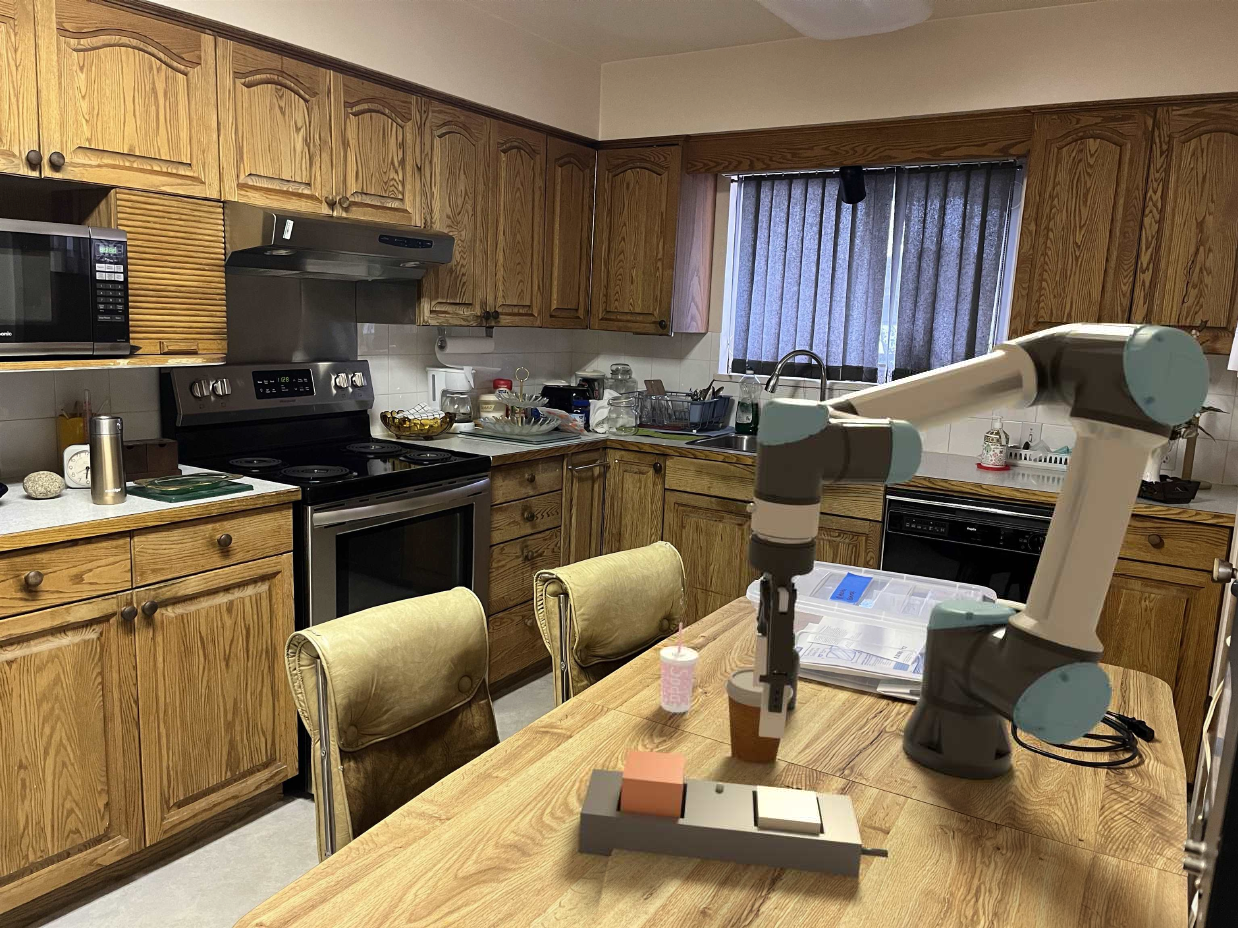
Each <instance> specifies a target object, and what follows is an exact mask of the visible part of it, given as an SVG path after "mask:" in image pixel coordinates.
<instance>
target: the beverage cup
mask: <svg viewBox="0 0 1238 928" xmlns="http://www.w3.org/2000/svg"><path fill="white" fill-rule="evenodd" d="M678 627H679V628H678V639H677V646H676V645H673V646H671V645H670V646H666V647H665V646H664V647H663V648H661V649H660V651H659V658H660V660H661V661H660V664H661V665H660V666H661V667H660V671H661V673H660V677H661V678H660V679H661V680H660V691H661V692H660V693H661V695H660V702H661V704H660V705H661V708H662V709H663V710H665V711H667V712H671V713H684V712H687V711H688V710H690V709H691V707H690V706H691V699H692V693H693V687H694V686H693V685H694V680H695V678H694V677H695V670H696V664H697V662H698V660H699V659H698V658H699V653H698V652H697V651H696V650H695V649H692V648H691V647H690V648H689V647H687V646H682V639H683V638H682V637H683V622H679V626H678Z"/></svg>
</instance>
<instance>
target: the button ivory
mask: <svg viewBox="0 0 1238 928" xmlns="http://www.w3.org/2000/svg"><path fill="white" fill-rule="evenodd" d="M756 786H757V792H756V804H755V816H754V826H755V827H764V828H773V829H782V830H791V831H800V832H809V833H819V834H820V825H821V822H820V817H819V811H818V805H817V800H816V794H815V792H816V791H811V790H802V789H794V788H793V789H792V788H784V787H773V786H765V785H756Z"/></svg>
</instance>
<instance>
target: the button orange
mask: <svg viewBox="0 0 1238 928" xmlns="http://www.w3.org/2000/svg"><path fill="white" fill-rule="evenodd" d="M685 761H686V755H685V754H676V753H667V752H658V751H650V750H649V751H647V750H638V749H628V751H627V755H626V759H625V764H624V768H623V771H622V772H623V777H622V792H621V810H620V812H628V813H637V814H646V815H655V816H665V817H674V818H681V814H682V813H681V805H682V794H683V780H684V778H685V777H684V776H685Z"/></svg>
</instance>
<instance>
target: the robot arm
mask: <svg viewBox="0 0 1238 928" xmlns="http://www.w3.org/2000/svg"><path fill="white" fill-rule="evenodd" d="M1210 377H1211V376H1210V366H1209V362H1208V357H1207V356H1206V355H1204V352H1203V348H1202V346H1201V345H1200V343H1199V342H1198V341H1197V339H1195V337H1193V335H1191V334H1190V333H1188V332H1186V331H1185V330H1182V329H1179V328H1175V327H1169V326H1162V325H1158V324H1157V325H1155V324H1151V323H1145V324H1135V323H1134V324H1133V323H1132V324H1131V323H1103V322H1102V323H1101V322H1100V323H1099V322H1088V321H1087V322H1086V321H1084V322H1083V321H1082V322H1074V323H1069V324H1068V323H1067V324H1063V325H1058V326H1054V327H1051V328H1047V329H1044V330H1040V331H1037V332H1034V333H1030V334H1028V335H1024V336H1021V337H1018V338H1017V337H1016V338H1014V339H1011V340H1010V339H1009V340H1007V341H1003V342H1000V343H998V344H996V345H995V346H993V348H992V349H990V351H989V353H988V354H984V355H981V356H978V357H975V358H974V357H973V358H971V359H968V360H964V361H961V362H957V363H952V364H951V365H947V366H944V367H943V366H942V367H939V368H936V369H933V370H930V371H929V370H928V371H926V372H921V373H919V374H915V375H911V376H908V377H904V378H901V379H897V380H894V381H891V382H887V383H884V384H880V385H876V386H873V387H869V388H867V389H866V388H865V389H863V390H860V391H856V392H851V393H849V394H845V395H842V396H841V395H840V396H838V397H834V398H830V399H827V400H823V401H819V400H810V399H803V398H790V397H789V398H786V397H778V398H770V399H768V400H767V401H765V403H763V405H762V406H761V407H762V408H761V410H760V411H761V412H760V416H759V423H758V429H757V435H756V457H755V470H754V471H755V472H754V484H753V485H754V486H753V499H752V500H753V503H748V504H747V505H746V511H747V512H749V513H751V523H750V529H751V530H752V531H753V532H752V533H751V534H750V535H749V538H748V550H747V564H748V565H749V566H750V567H751V568H752V569H753V570H755V571H757V572H760V573H763V574H762V579H761V578H760V581H759V604H758V612H757V616H756V620H755V621H756V622H757V626H756V631H757V634H756V641H755V642H756V643H755V653H754V663H753V668H754V673H753V687H763V691H762V702H761V713H760V725H759V736H761V737H771V738H781V739H785V729H786V719H787V712H786V710H787V699H788V689H789V686H791V685H792V681H793V678H792V656H793V633H794V628H795V627H794V624H795V618H796V617H795V612H796V611H795V610H796V609H795V607H796V602H797V600H798V589H797V588H795V587H796V582H794V581H792V580H793V578H794V577H797V576H800V577H801V576H806V575H809V574H810V573H811V572H812V571H813V570H814V567H815V557H816V546H817V543H816V541H815V539H814V537H816V536H817V535H818V532H819V524H820V523H819V521H820V513H821V512H820V510H821V502H822V501H821V496H822V490H823V484H824V485H837V484H839V485H840V484H841V485H842V484H843V485H844V484H845V485H854V484H856V485H857V484H858V485H881V486H886V485H891V484H899V483H900V484H901V483H902V484H903V483H906V482H908V481H910V480H911V479H912V478H913V477H915V475H916V474H917V473H918V471H919V469H920V467H921V463H922V453H923V443H922V438H921V435H920V433H922V432H925V431H929V430H932V429H936V428H939V427H943V426H946V425H949V424H952V423H956V422H960V421H962V420H965V419H969V418H973V417H976V416H980V415H983V414H987V413H989V412H992V411H996V410H1000V409H1002V408H1006V409H1008V410H1011V411H1022V410H1026V409H1028V408H1032V407H1038V406H1050V407H1051V406H1053V407H1064V408H1071V409H1070V412H1069V416H1068V421H1069V423H1070V424H1071V426H1072V428H1073V429H1074V432H1075V433H1076V438H1075V441H1074V443H1073V447H1072V451H1071V454H1070V457H1069V460H1068V465H1067V468H1066V470H1065V474H1064V478H1063V480H1062V484H1061V487H1060V491H1059V494H1058V496H1057V501H1056V504H1055V507H1054V511H1053V514H1052V517H1051V520H1050V524H1049V526H1048V530H1047V534H1046V537H1045V541H1044V544H1043V547H1042V551H1041V554H1040V557H1039V561H1038V564H1037V567H1036V571H1035V574H1034V577H1033V579H1032V584H1031V586H1030V590H1029V593H1028V596H1027V600H1026V604H1025V606H1024V609H1022V611H1020V612H1017V611H1016V610H1015V609H1014V608H1012V607H1010V606H1007V605H1004V604H1001V603H995V602H991V601H989V602H988V601H983V600H981V601H980V600H970V599H969V600H966V599H962V600H961V599H956V600H944V601H941V602H939V603H936V604H935V605H934V606H933V607H932V609H931V611H930V615H929V619H928V624H927V626H926V638H925V649H924V650H925V651H924V659H923V666H922V667H923V670H922V679H921V688H920V694H919V695H920V696H919V699H918V701H917V702H916V704H915V706H914V709H913V711H912V712H911V715H910V716H909V718H908V720H907V722H906V724H905V726H904V728H903V735H902V736H903V738H902V747H903V749H904V751H905V752H906V753H907V754H908V756H910V758H912V759H914V761H916V762H918V763H919V764H921V765H923V766H925V767H927V768H929V769H932V770H935V772H939V773H944V774H946V775H950V776H953V777H959V778H964V779H965V778H968V779H978V780H979V779H981V780H983V779H992V778H998V777H1000V776H1002V775H1004V774H1006V773H1008V771H1009V770H1010V769H1011V765H1012V756H1013V748H1012V743H1011V739H1010V733H1009V728H1008V724H1007V721H1008V722H1010V723H1011V724H1012V725H1015V727H1017V729H1019V730H1020V731H1021V732H1023V733H1024V734H1027V735H1031V736H1032V737H1033V736H1034V737H1036V739H1039V740H1041V741H1043V742H1046V743H1049V744H1055V745H1060V744H1061V745H1062V744H1063V745H1064V744H1069V743H1071V742H1072V743H1073V742H1075V741H1077V740H1079V739H1081V738H1082V737H1084V736H1085V735H1086V734H1089V733H1090V732H1092V731H1093V730H1094V729H1095V728H1096V727H1097V726H1098V725H1099V724H1100V722H1101V721H1102V720H1103V718H1104V717H1105V715H1106V714H1107V711H1108V709H1109V708H1110V704H1111V702H1112V695H1113V687H1112V684H1111V679H1110V677H1109V675H1108V674H1107V673H1106V672H1105V671H1104V669H1103V668H1102V667H1101V666H1100V662H1101V658H1102V656H1103V652H1104V646H1103V644H1102V642H1101V640H1100V639H1099V637H1098V635H1097V633H1096V630H1097V629H1096V628H1097V625H1098V623H1099V619H1100V616H1101V613H1102V610H1103V606H1104V603H1105V600H1106V596H1107V593H1108V590H1109V587H1110V584H1111V581H1112V577H1113V573H1114V571H1115V567H1116V564H1117V562H1118V558H1119V555H1120V551H1121V549H1122V545H1123V542H1124V539H1125V535H1126V533H1127V529H1128V526H1129V523H1130V519H1131V515H1132V513H1133V509H1134V507H1135V503H1136V500H1137V497H1138V493H1139V490H1140V488H1141V484H1142V480H1143V477H1144V474H1145V471H1146V468H1147V465H1148V461H1149V458H1150V455H1151V453H1152V452H1153V450H1155V449H1156V448H1158V447H1161V446H1163V445H1164V444H1166V443H1168V442H1169V441H1170V438H1171V435H1172V431H1173V428H1174V426H1178V425H1181V424H1184V423H1186V422H1189V421H1190V420H1191V419H1193V418H1194V414H1197V413H1199V412H1200V411H1201V409H1202V407H1203V406H1204V404H1205V402H1206V400H1207V396H1208V393H1209V388H1210ZM760 634H761V635H760ZM776 671H780V672H784V673H778V672H776ZM787 711H788V710H787Z"/></svg>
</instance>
